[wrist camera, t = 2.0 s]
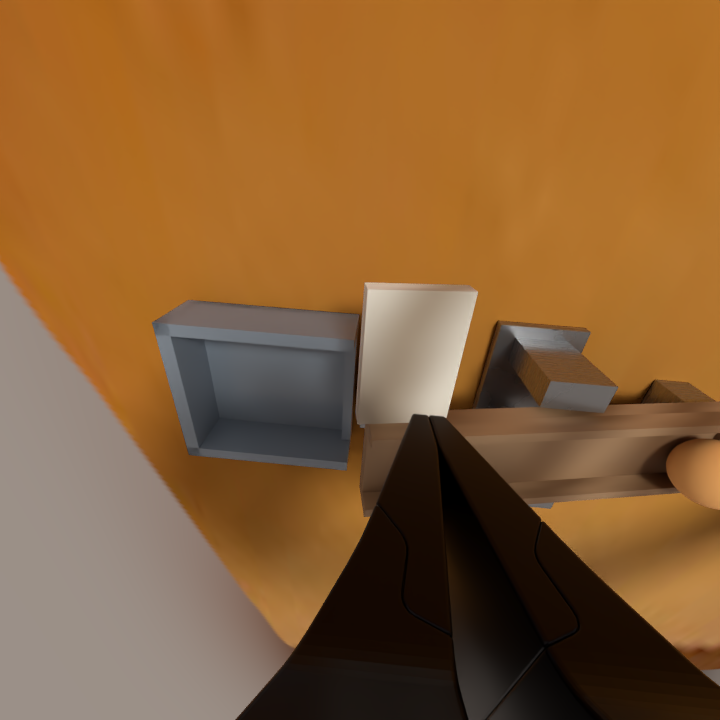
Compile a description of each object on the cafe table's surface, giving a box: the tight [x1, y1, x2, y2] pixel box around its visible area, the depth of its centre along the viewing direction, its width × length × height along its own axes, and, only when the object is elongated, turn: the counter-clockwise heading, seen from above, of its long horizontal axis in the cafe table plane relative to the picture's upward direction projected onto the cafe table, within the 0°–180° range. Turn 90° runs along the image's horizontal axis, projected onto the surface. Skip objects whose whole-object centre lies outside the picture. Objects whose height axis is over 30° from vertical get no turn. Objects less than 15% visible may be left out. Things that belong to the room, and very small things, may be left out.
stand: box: [360, 321, 716, 509], centre depth 19 cm, size 20×10×5 cm, turn 86°
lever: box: [355, 283, 720, 517], centre depth 15 cm, size 20×11×4 cm, turn 86°
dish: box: [152, 300, 359, 470], centre depth 20 cm, size 10×9×4 cm
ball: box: [666, 439, 720, 510], centre depth 16 cm, size 3×3×3 cm
